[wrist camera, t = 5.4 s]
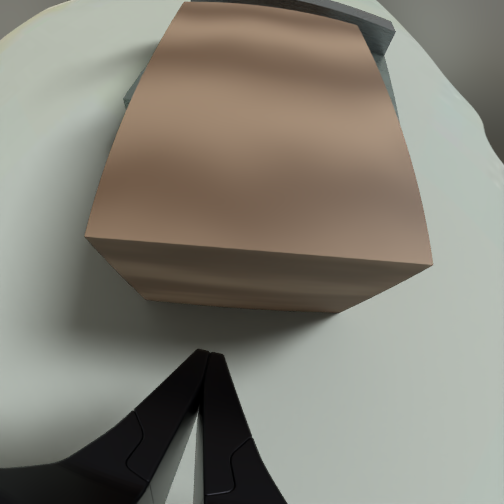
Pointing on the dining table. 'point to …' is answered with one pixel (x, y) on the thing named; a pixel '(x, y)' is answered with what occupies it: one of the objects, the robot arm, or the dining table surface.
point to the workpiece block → (260, 168)
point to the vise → (320, 4)
